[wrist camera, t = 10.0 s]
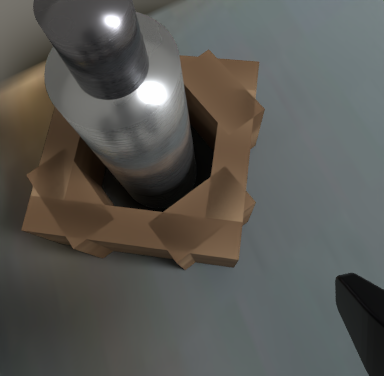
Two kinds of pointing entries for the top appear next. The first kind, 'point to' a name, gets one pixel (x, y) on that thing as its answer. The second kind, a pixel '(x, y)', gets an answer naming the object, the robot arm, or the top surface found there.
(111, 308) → the top surface
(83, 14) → the grey cylindrical bottle
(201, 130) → the socket block
